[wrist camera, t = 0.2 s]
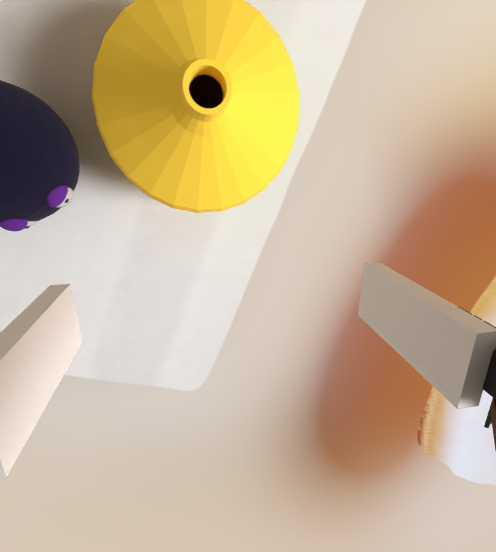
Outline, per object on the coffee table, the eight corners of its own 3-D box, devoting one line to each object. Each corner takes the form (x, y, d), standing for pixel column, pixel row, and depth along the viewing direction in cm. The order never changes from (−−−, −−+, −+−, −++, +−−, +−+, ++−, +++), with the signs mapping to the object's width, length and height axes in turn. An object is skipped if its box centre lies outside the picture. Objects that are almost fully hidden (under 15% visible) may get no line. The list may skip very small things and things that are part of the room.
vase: (246, 221, 42) (287, 269, 24) (96, 170, 37) (12, 184, 20) (301, 68, 37) (403, -11, 19) (136, -14, 32) (73, -219, 15)
